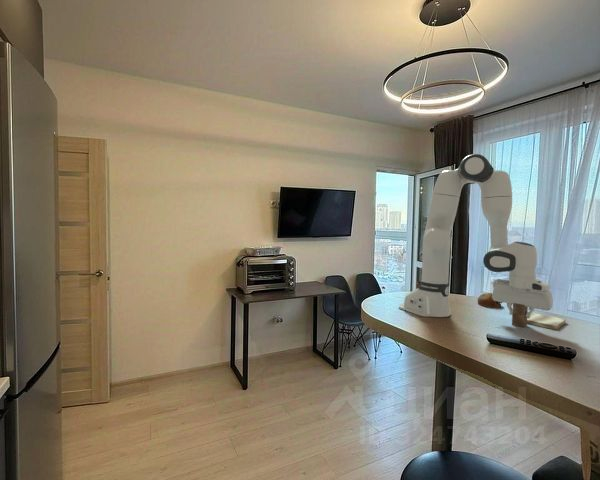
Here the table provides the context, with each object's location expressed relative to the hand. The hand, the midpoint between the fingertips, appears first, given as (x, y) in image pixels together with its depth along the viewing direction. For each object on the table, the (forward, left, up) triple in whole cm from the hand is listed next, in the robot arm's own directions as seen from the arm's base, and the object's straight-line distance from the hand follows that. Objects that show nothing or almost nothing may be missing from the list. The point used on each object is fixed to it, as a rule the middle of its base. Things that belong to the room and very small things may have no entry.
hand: (519, 316), depth 130 cm
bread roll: (-20, +24, -4) cm, 31 cm away
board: (+4, +12, -4) cm, 13 cm away
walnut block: (0, 0, -4) cm, 4 cm away
